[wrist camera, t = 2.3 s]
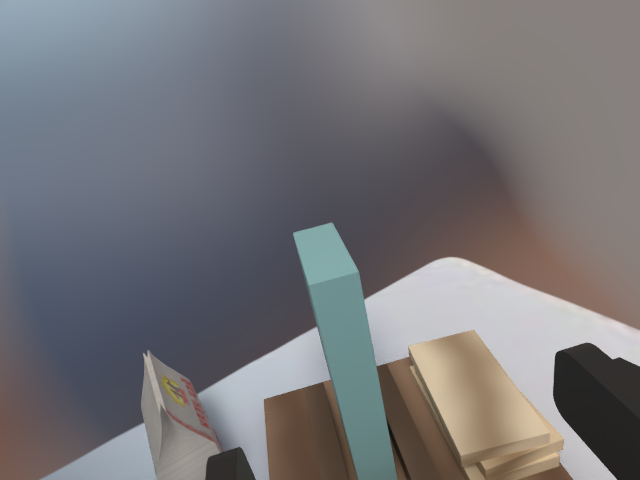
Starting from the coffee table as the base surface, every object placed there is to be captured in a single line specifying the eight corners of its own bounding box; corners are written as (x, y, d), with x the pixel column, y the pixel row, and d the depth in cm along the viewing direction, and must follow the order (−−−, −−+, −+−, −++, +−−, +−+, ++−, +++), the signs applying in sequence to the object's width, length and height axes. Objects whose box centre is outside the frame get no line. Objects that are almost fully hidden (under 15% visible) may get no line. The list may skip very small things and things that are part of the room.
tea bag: (190, 533, 27) (128, 432, 23) (170, 457, 33) (117, 364, 28) (241, 498, 28) (193, 396, 24) (214, 431, 34) (170, 338, 30)
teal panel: (361, 493, 26) (308, 285, 19) (340, 417, 31) (292, 233, 24) (398, 482, 26) (358, 271, 19) (370, 408, 32) (332, 222, 24)
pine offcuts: (468, 496, 25) (466, 465, 23) (406, 375, 34) (401, 348, 32) (566, 465, 25) (569, 432, 24) (478, 354, 34) (477, 326, 33)
